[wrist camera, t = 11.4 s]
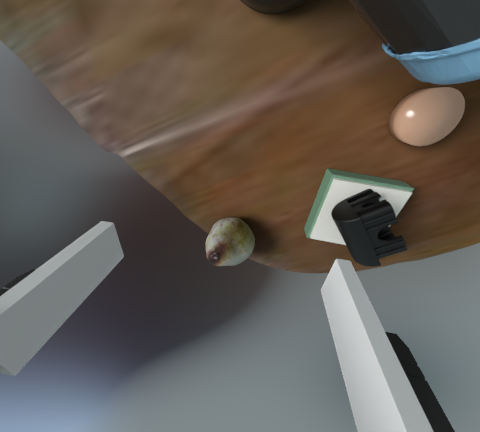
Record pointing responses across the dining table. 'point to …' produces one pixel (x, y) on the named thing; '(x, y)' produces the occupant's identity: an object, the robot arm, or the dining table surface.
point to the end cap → (367, 227)
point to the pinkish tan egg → (426, 115)
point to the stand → (342, 187)
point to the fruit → (229, 242)
